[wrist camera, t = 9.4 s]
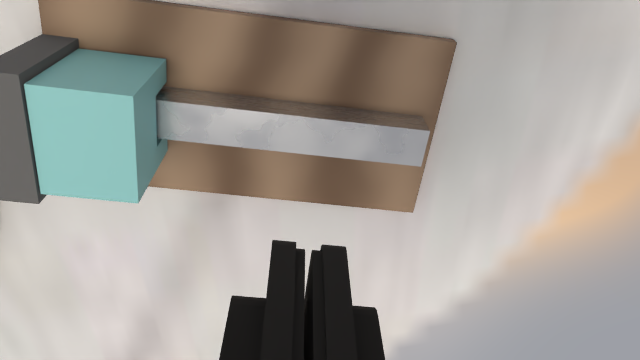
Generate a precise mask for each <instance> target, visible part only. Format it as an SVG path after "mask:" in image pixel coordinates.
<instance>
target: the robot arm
mask: <svg viewBox="0 0 640 360" xmlns="http://www.w3.org/2000/svg"><path fill="white" fill-rule="evenodd" d="M304 290H305V249H296V242H289V241H278V240H273V241H272V250H271V259H270V269H269V278H268V287H267V297H266V298H255V297H243V296H232V298H231V302H230V307H229V312H228V317H227V322H226V327H225V332H224V338H223V343H222V348H221V353H220V358H219V360H385V356H384V350H383V344H382V338H381V332H380V326H379V319H378V314H377V310H376V309H375V308H374V307H362V306H352V298H351V289H350V279H349V270H348V260H347V251H346V247H342V246H332V245H322V246H321V250H320V251H317V250H312V253H311V259H310V266H309V272H308V279H307V286H306V293H305V299H304Z"/></svg>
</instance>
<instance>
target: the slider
mask: <svg viewBox="0 0 640 360" xmlns="http://www.w3.org/2000/svg"><path fill="white" fill-rule="evenodd" d="M166 82H167V81H166V59H162V58H154V57H145V56H137V55H129V54H120V53H112V52H104V51H95V50H87V49H79V48H78V49H77V50H75V51H74V52H72V53H71V54H69V55H68V56H66V57H65V58H63V59H62V60H60V61H58V62H57V63H55V64H54V65H52V66H51V67H49V68H48V69H46V70H45V71H43V72H42V73H40V74H38V75H37V76H35V77H34V78H32V79H31V80H29V81H28V82H26V83H25V84H24V89H25V95H26V101H27V108H28V114H29V121H30V127H31V134H32V140H33V147H34V153H35V160H36V166H37V173H38V179H39V186H40V192H41V194H46V195H57V196H67V197H77V198H88V199H98V200H108V201H119V202H129V203H139V201H140V199H141V198H142V196H143V194H144V192H145V190H146V189H147V187H148V185H149V183H150V181H151V180H152V178H153V176H154V174H155V172H156V171H157V169H158V167H159V165H160V163H161V162H162V160H163V158H164V156H165V154H166V152H167V151H168V147H167V139H158V138H157V127H156V95H157V94H158V92H159V91H160V90H161V88H162V87H163V86H164V85H165V83H166Z"/></svg>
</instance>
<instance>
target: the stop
mask: <svg viewBox="0 0 640 360" xmlns="http://www.w3.org/2000/svg"><path fill="white" fill-rule="evenodd" d="M78 48H79V40H78V38H71V37H63V36H54V35H46V34H42V35H40V36H38V37H36V38H34V39H32V40H30V41H28V42H26V43H24V44H22V45H20V46H18V47H16V48H14V49H12V50H10V51H8V52H6V53H4V54H2V55H0V200H3V201H13V202H24V203H34V204H39V203H40V202H41V201H42V200H43V199H44V197H45V196H46V194H41V192H40V186H39V179H38V173H37V166H36V160H35V153H34V147H33V140H32V134H31V127H30V121H29V114H28V108H27V101H26V95H25V89H24V84H25V83H26V82H28V81H29V80H31V79H32V78H34V77H35V76H37V75H38V74H40V73H42V72H43V71H45V70H46V69H48V68H49V67H51V66H52V65H54V64H55V63H57V62H58V61H60V60H62V59H63V58H65V57H66V56H68V55H69V54H71V53H72V52H74V51H75V50H77V49H78Z"/></svg>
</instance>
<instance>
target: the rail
mask: <svg viewBox="0 0 640 360" xmlns="http://www.w3.org/2000/svg"><path fill="white" fill-rule="evenodd" d="M156 127H157V138H158V139H167V140H176V141H186V142H195V143H204V144H214V145H223V146H232V147H242V148H251V149H260V150H270V151H279V152H288V153H298V154H307V155H316V156H326V157H335V158H344V159H354V160H363V161H372V162H381V163H391V164H400V165H409V166H419V167H421V165H422V162H423V158H424V154H425V150H426V146H427V142H428V138H429V134H430V130H429V128H428V126H427V124H426V122H425V120H424V119H423V117H422V116H417V115H408V114H400V113H391V112H382V111H374V110H365V109H356V108H348V107H339V106H330V105H322V104H313V103H304V102H296V101H287V100H279V99H270V98H261V97H253V96H244V95H235V94H227V93H218V92H209V91H201V90H192V89H184V88H175V87H166V86H163V87H162V88H161V90H160V91H159V92H158V94H157V95H156Z"/></svg>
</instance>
